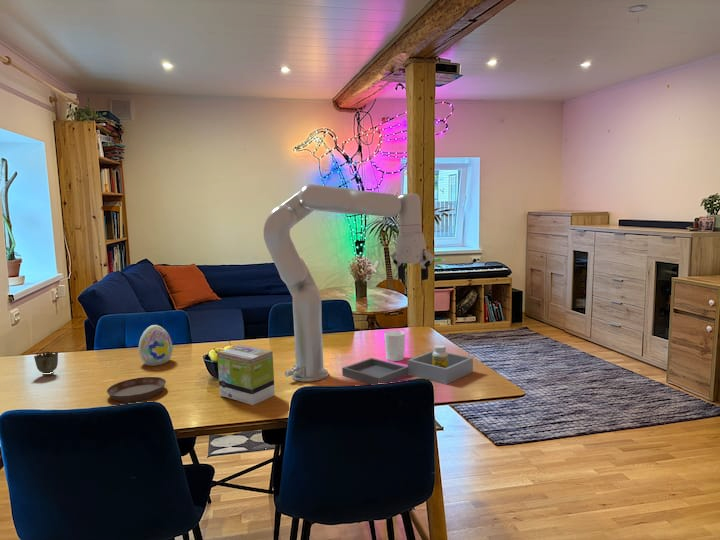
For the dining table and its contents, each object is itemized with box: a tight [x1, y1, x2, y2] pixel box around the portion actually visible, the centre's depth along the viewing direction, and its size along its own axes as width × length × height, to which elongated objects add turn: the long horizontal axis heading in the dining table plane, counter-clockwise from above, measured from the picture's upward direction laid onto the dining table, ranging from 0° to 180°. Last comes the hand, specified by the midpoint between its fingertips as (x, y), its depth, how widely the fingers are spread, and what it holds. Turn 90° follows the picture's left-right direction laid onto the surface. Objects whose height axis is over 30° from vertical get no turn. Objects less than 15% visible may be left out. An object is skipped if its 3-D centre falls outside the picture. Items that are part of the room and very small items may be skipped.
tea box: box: [216, 344, 275, 406], centre depth 159 cm, size 15×10×15 cm, turn 56°
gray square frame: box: [407, 349, 474, 385], centre depth 176 cm, size 16×16×5 cm
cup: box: [33, 351, 59, 377], centre depth 186 cm, size 8×7×8 cm
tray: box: [341, 357, 409, 385], centre depth 175 cm, size 15×17×3 cm
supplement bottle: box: [432, 344, 449, 368], centre depth 175 cm, size 5×5×10 cm
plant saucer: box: [106, 376, 167, 403], centre depth 165 cm, size 18×18×3 cm
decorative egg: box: [138, 324, 174, 367], centre depth 197 cm, size 12×12×15 cm
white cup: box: [383, 330, 406, 362], centre depth 193 cm, size 8×8×10 cm
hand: (413, 279), depth 177 cm, fingers open, 9 cm apart
